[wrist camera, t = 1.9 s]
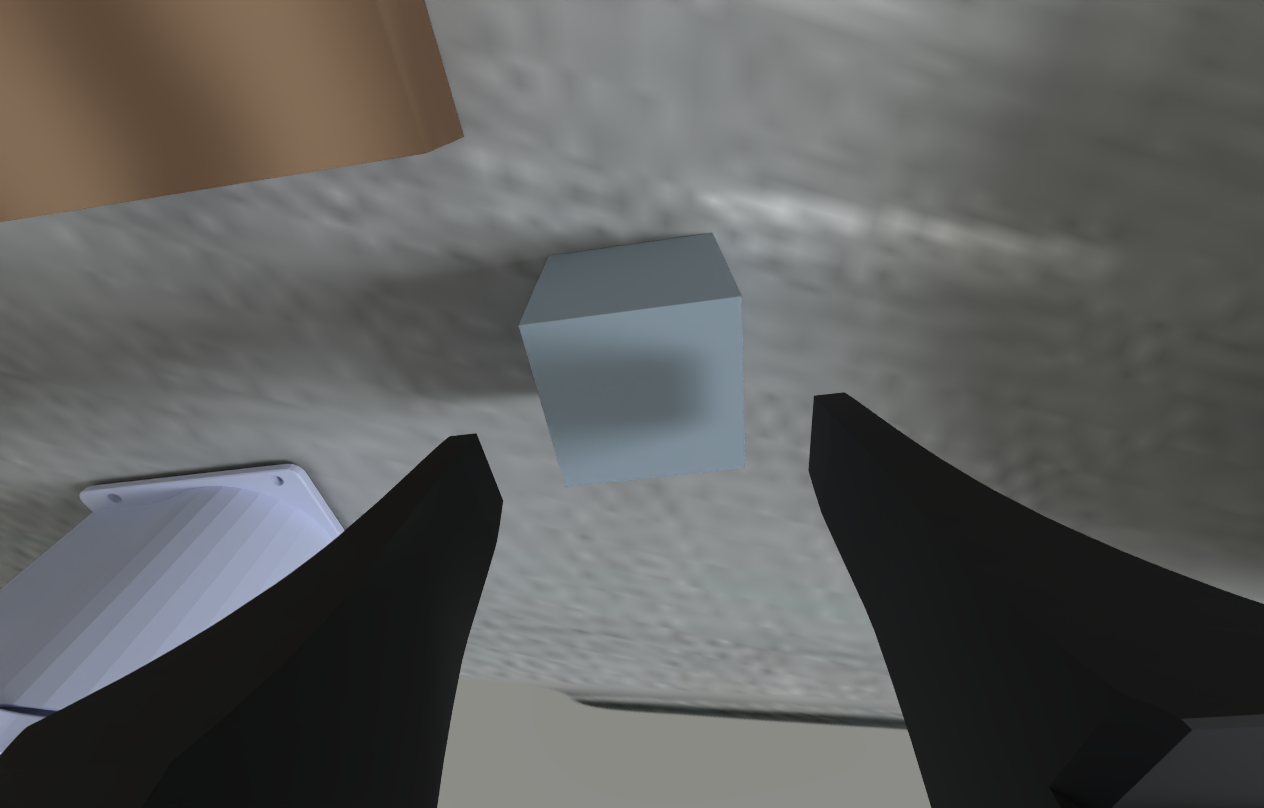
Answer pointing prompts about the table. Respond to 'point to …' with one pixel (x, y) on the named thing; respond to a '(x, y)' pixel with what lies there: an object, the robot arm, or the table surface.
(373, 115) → the walnut base
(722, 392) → the slate cube
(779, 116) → the table surface
